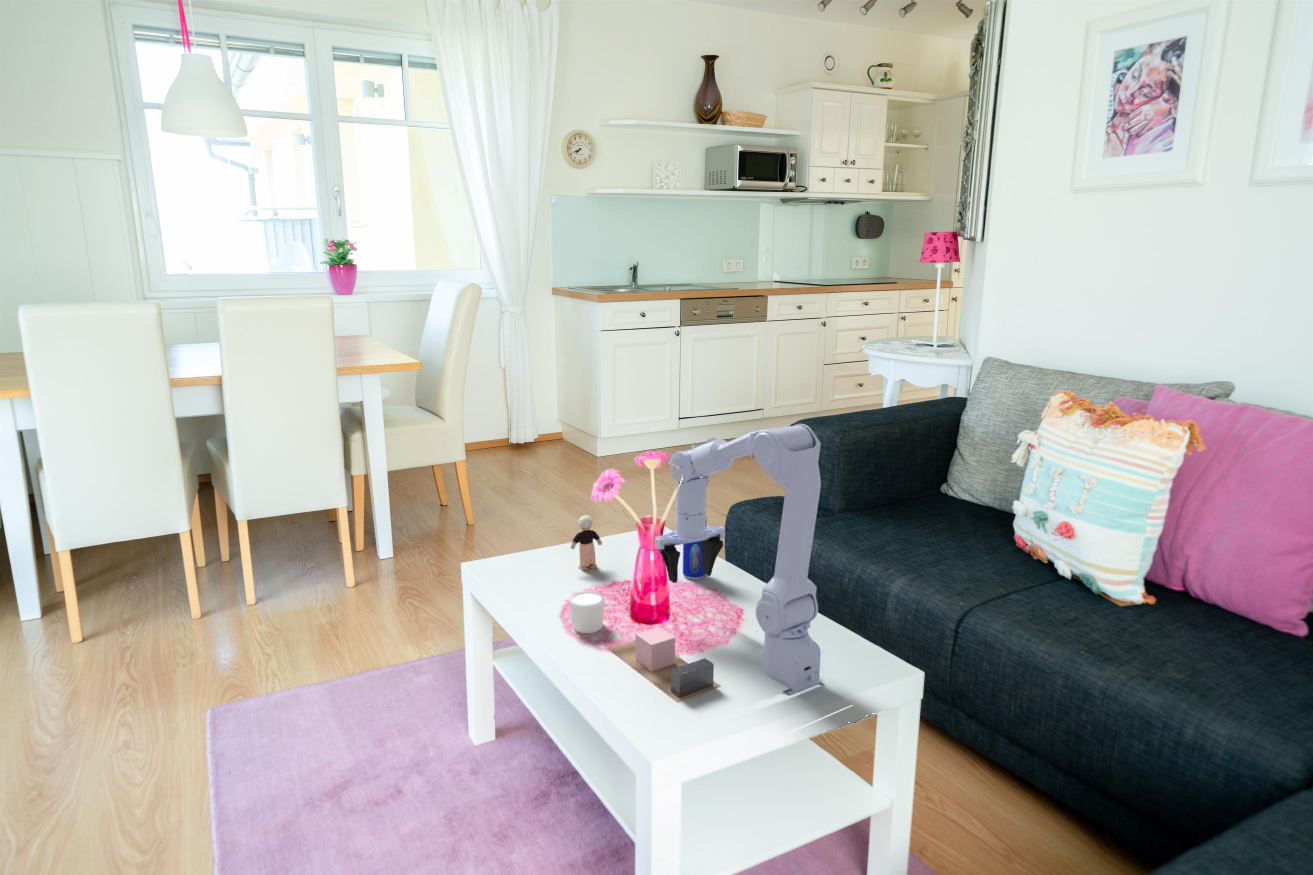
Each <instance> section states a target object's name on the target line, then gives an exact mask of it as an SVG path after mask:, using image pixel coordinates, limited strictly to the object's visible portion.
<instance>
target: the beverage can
mask: <svg viewBox="0 0 1313 875" xmlns="http://www.w3.org/2000/svg"><path fill="white" fill-rule="evenodd" d="M705 527H707V520H706V521H705ZM682 575H683V576H684V578H686V579H688V580H692V581H693V580H701V579H703V578H704V577H705V575H706V574H704V573H703V569H702V547H701V542H700V541H698V542H692V543H686V544H682Z"/></svg>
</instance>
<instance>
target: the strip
mask: <svg viewBox="0 0 1313 875" xmlns="http://www.w3.org/2000/svg"><path fill="white" fill-rule="evenodd" d="M607 650H608V651H609V652H611V653H612V654H614V655H615V657H617V658H619V659H620V660H621V661H622V662H623V663H625V664H627V665H628V666H629V667H630V668H632V669H633V670H634V671H636V672H637V673H638V674H640V675H641V676H642V677H643V678H645V679H646V680H648V681H649V682H650V683H651V684H652V685H654V686H655V687H657V688H658V689H659V690H661V691H662V692H663V693H664V694H665V695H667V696H668V697H670V698H671V699H672V700H673V701H674V702H676V703H679V702H683V701H685V700H688V699H690V698H693V697H697V696H699V695H702V694H704V693H706V692H709V691H712V690H715V689H717V688H721V685H720V684H719V683H717V682H716V681H714V674H715V673H714V672H715V671H714V668H715V667H714V666H715V664H714V663H713V662H711V661H710V660H708V659H707V658H702V659H698V660H696V661H695V660H694V661H692V662H690V663H688V662H687V661H685V660H684V659H682V658H681V657H679V655H677V654H675V664H672V665H670V666H667V667H664V668H661V669H658V670H655V671H652V672H651V671H650V670H649V669H647V668H646V667H645V666H643V665H642V664H641V663H639V662H638V661H637V660H636V639H635V640H630V641H627V642H624V643H621V644H617V645H615V646H611V647H608V648H607Z"/></svg>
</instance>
